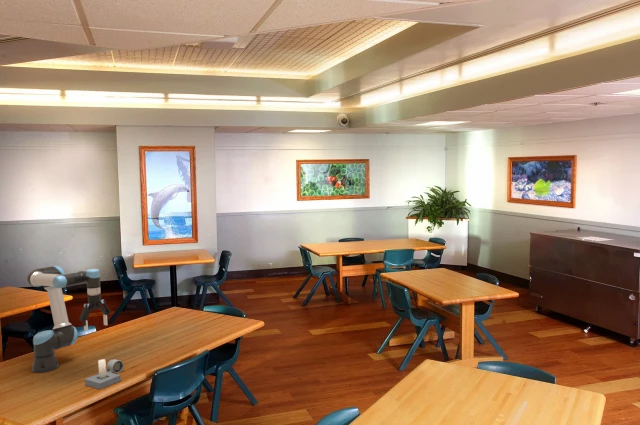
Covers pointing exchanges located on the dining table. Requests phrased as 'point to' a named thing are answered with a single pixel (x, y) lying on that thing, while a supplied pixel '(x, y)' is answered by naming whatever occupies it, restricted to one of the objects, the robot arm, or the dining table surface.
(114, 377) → the bore block
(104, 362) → the dowel pin
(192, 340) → the dining table surface
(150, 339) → the dining table surface
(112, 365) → the ceramic mug
